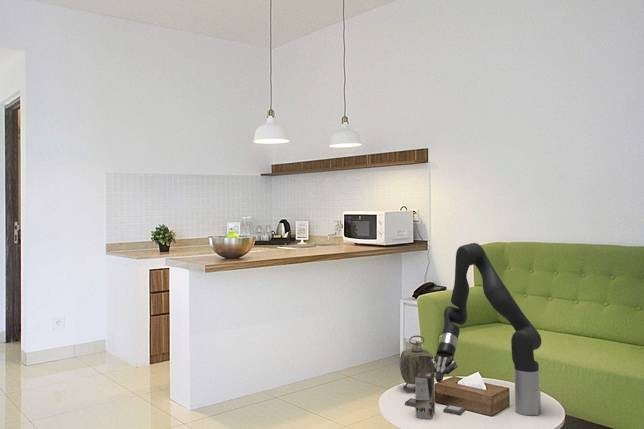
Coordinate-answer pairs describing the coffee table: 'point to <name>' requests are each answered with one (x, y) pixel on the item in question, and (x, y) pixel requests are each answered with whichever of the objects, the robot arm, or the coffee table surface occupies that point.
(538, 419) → the coffee table surface
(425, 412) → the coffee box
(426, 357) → the ring-handled stone jug
